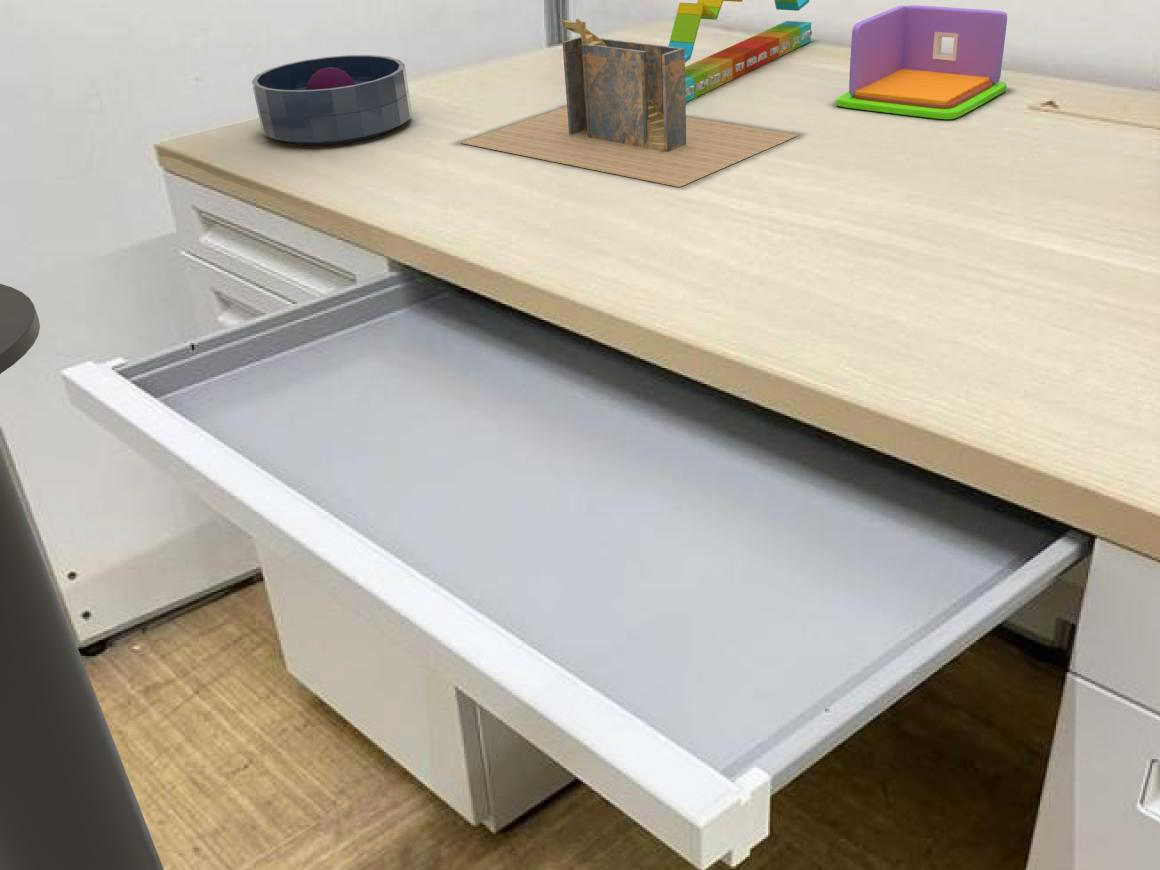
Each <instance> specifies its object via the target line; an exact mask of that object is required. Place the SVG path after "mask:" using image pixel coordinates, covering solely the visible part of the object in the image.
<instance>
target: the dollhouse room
mask: <svg viewBox="0 0 1160 870" xmlns="http://www.w3.org/2000/svg"><path fill="white" fill-rule="evenodd" d="M1007 25H1008V13H1007V12H1006V11H1002V10H993V9H978V8H964V7H949V6H934V5H933V6H932V5H918V4H916V5H914V4H913V5H912V4H911V5H898V6H896V7H893V8H890V9H887V10H886V11H882V12H880V13H877V14H875V15H873V16H870V17H868V18H865V19H863V20H860V21H859V22H856V23H855V24H854V25H853V27H852V31H851V41H850V44H851V45H850V58H849V61H850V62H849V79H848V91H847V92H846V93H843V94H840V95H839V96H838V97H837V98H836V101H835V103H836V106H837V107H840V108H847V109H855V110H861V111H862V110H863V111H869V112H878V113H886V114H894V115H903V116H913V117H920V118H929V119H938V120H953V119H958V118H960V117H962V116H963V115H966V114H967V113H969V112H971V111H973V110H975V109H977V108H978V107H980V106H982V105H984V104H985V103H987V102H989V101H991V100H992V99H994V98H996V97H998V96H1000V95H1001V94H1003V93H1005V92H1006V90H1007V83H1006V82H1005V81H1000V79H1001V74H1002V67H1003V59H1004V50H1005V43H1006V42H1005V41H1006V33H1007ZM943 38H951V39H953V48H952V53H947V52H942V44H943Z"/></svg>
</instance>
